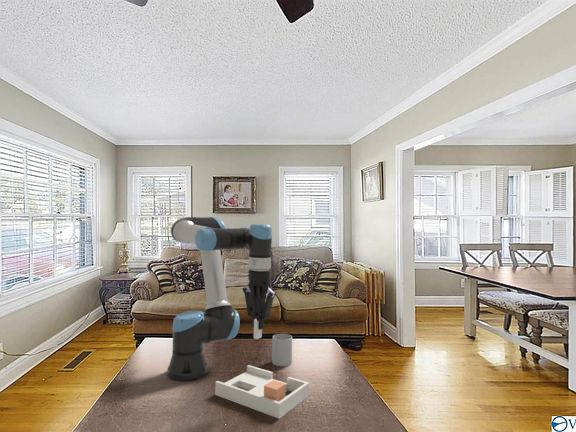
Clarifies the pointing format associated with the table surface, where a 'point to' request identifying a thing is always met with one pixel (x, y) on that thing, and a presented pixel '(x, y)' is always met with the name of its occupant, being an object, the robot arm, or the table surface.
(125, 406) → the table surface
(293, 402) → the box
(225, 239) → the robot arm
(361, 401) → the table surface
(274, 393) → the block
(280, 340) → the mug
